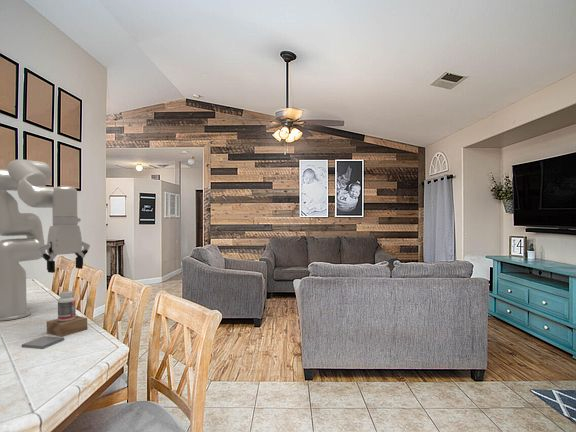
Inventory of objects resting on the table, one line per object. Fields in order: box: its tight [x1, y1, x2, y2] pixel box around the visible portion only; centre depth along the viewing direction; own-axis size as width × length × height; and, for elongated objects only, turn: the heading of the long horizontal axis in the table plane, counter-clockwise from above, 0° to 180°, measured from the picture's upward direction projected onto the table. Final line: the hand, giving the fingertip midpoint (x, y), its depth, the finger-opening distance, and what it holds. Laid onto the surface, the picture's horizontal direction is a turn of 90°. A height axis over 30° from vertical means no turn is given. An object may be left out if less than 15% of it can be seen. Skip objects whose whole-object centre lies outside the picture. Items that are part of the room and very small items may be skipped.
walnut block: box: [46, 315, 88, 337], centre depth 130 cm, size 9×9×4 cm
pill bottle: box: [57, 290, 77, 321], centre depth 130 cm, size 5×5×10 cm
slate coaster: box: [21, 335, 65, 350], centre depth 117 cm, size 8×8×1 cm
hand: (65, 270), depth 130 cm, fingers open, 9 cm apart
